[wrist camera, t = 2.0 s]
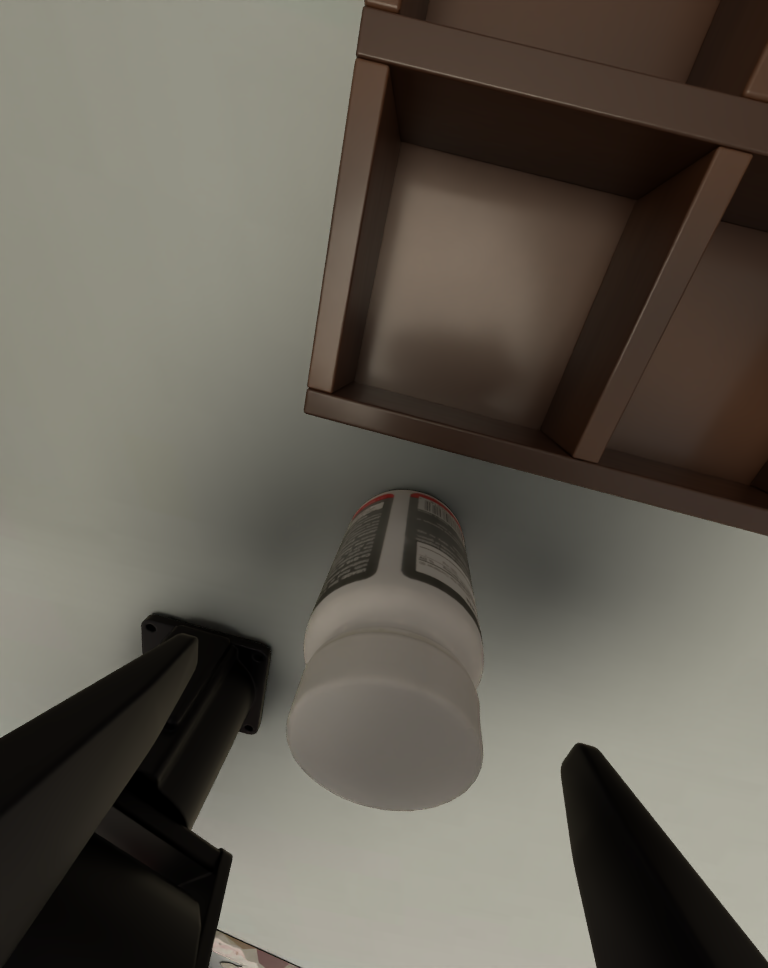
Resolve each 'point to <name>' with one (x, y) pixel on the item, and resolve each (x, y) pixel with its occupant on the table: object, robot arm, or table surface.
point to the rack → (559, 244)
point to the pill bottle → (393, 662)
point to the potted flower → (245, 954)
